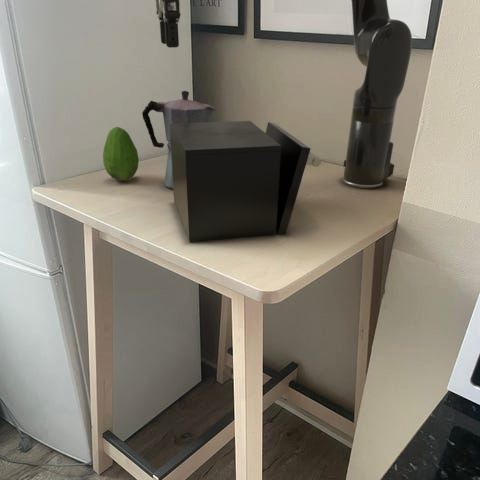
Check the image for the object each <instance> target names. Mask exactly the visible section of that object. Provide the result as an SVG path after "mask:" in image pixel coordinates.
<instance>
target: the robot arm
mask: <svg viewBox="0 0 480 480" xmlns="http://www.w3.org/2000/svg"><path fill="white" fill-rule="evenodd" d="M180 6H181V5H180V0H155V9H156V15H157V19H158V21H159V31H160V33H159V34H160V43H161V44H164V45H165V46H166V47H167V48H169V49H171V48H179V46H180V40H179V38H180V37H179V22H180V19H181V10H180ZM351 12H352V29H353V31H352V32H353V45H354V52H355V55H356V58H357V59H358V61H359V62H360V64H361V65H363V66H364V67H366V69H365V74H364V79H363V82H362V84H361V86H359V87H358V88H356V89H355V91H354V94H353V102H352V109H351V118H350V124H349V125H350V126H349V133H348V141H347V147H346V157H345V160H344V161H343V168H344V171H343V176H342V182H343V183H344V184H345V185H347V186H349V187H353V188H359V189H377V188H381V187H382V186H387V183H388V178H390V177H391V176H393V175H394V170H395V164H394V163H392V162H391V160H392V157H393V156H392V155H393V149H394V142H393V141H391V139H392V134H393V129H394V122H395V115H396V110H397V104H398V99H399V97H400V96H401V94H402V92H403V89H404V86H405V82H406V79H407V75H408V69H409V65H410V60H411V55H412V49H413V36H412V32H411V31H412V30H410V27H409V26H408V24H406V23H405V22H404V21H402V20H399V19H393V18H391V17H390V12H389V6H388V0H351Z"/></svg>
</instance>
